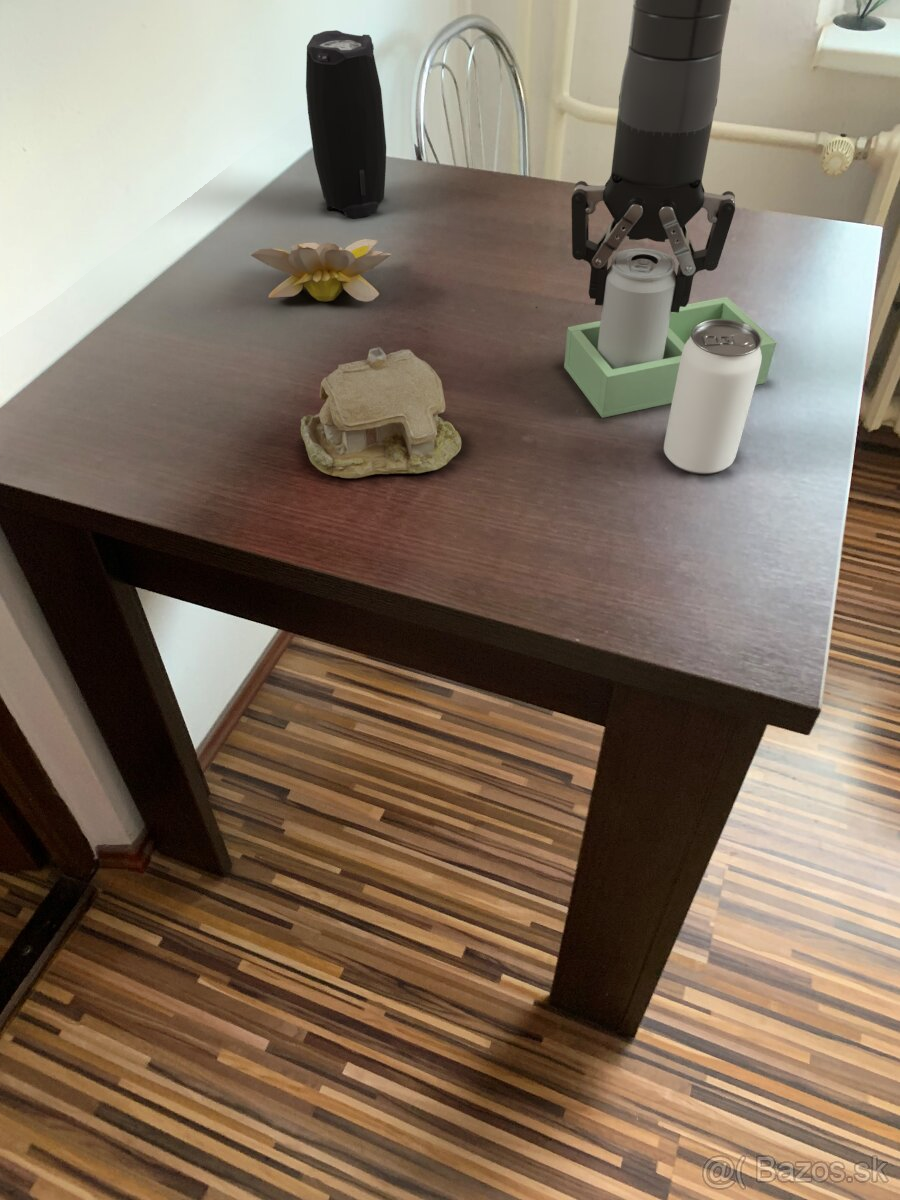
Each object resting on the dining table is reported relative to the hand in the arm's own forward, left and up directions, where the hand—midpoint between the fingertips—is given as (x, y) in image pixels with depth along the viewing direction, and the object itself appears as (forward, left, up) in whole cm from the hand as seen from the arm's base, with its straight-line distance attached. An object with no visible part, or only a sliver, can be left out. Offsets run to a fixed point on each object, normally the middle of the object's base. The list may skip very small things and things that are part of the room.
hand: (637, 304), depth 82 cm
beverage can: (0, 0, -8) cm, 8 cm away
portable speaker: (+16, -50, -9) cm, 53 cm away
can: (-1, +13, -9) cm, 15 cm away
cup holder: (-4, 0, -9) cm, 10 cm away
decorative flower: (+24, -28, -9) cm, 38 cm away
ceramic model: (+26, +2, -9) cm, 27 cm away
